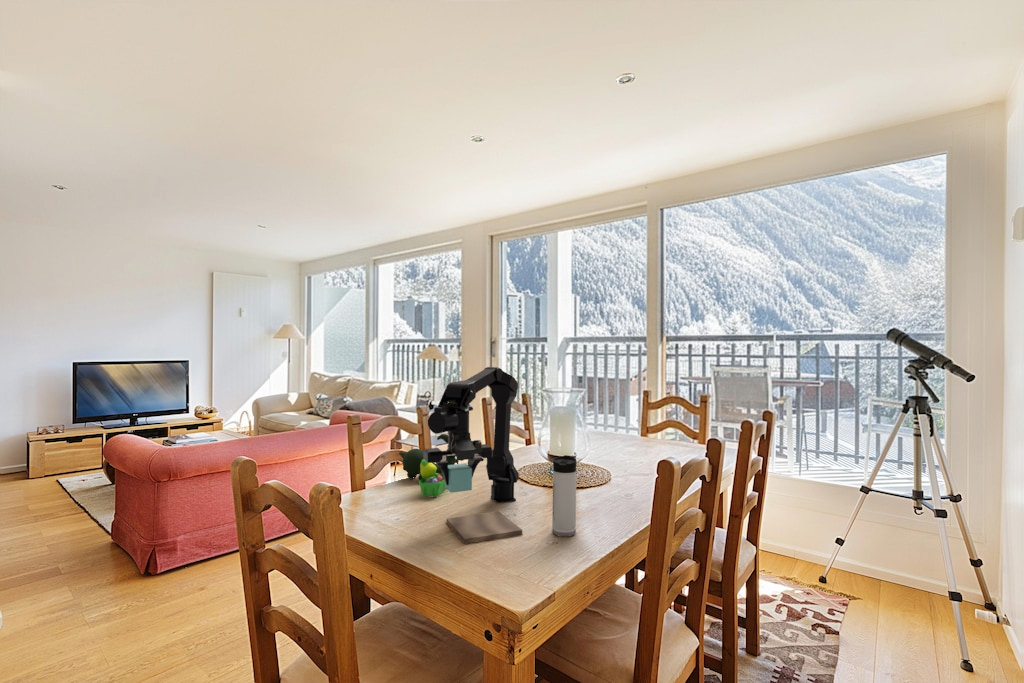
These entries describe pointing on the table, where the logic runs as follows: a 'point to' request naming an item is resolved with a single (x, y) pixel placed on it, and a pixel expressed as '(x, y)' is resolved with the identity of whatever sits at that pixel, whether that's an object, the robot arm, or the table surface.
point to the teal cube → (459, 478)
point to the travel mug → (564, 496)
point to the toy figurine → (417, 455)
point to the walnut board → (483, 527)
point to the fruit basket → (431, 480)
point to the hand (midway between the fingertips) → (458, 483)
